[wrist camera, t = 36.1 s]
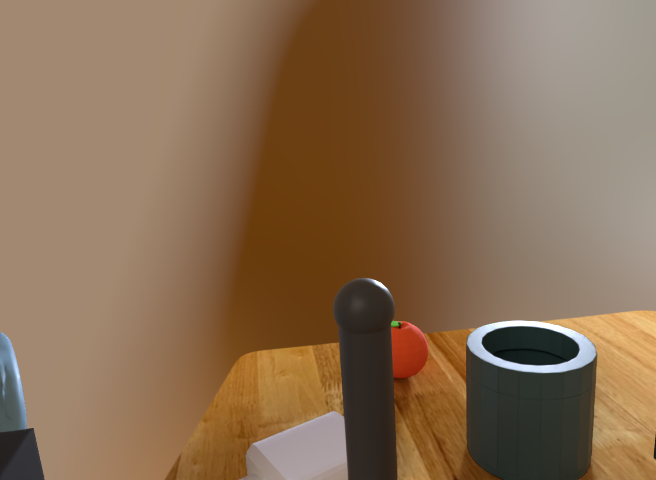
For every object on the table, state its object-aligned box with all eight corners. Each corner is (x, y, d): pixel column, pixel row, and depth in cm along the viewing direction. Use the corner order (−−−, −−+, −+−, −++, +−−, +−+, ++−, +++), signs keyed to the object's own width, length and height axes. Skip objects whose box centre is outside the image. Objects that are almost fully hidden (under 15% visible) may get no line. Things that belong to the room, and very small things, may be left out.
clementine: (355, 378, 70) (352, 325, 68) (383, 356, 75) (381, 307, 74) (413, 394, 65) (411, 337, 64) (438, 369, 71) (437, 317, 69)
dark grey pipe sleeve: (512, 501, 47) (514, 383, 45) (446, 431, 58) (444, 332, 55) (618, 468, 50) (626, 357, 48) (537, 407, 61) (540, 313, 58)
